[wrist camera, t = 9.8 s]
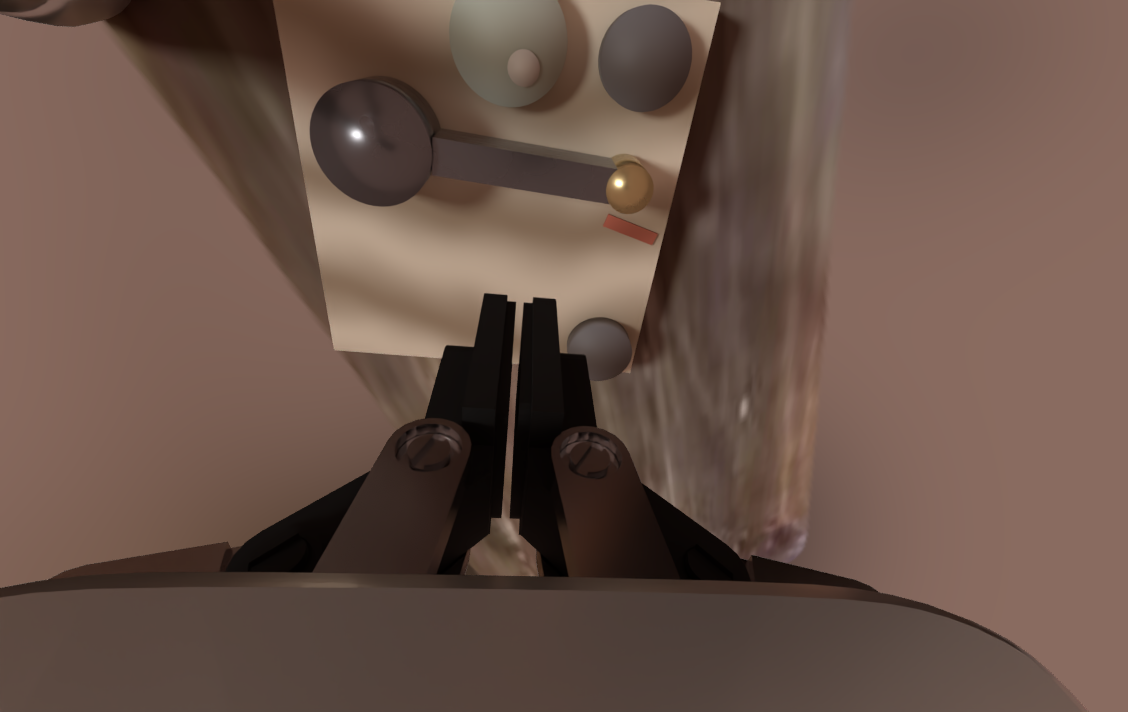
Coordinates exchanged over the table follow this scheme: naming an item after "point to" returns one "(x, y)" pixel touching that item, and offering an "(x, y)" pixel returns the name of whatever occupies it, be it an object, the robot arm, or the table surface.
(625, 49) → the plate
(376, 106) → the grey lever handle
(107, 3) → the plastic bottle
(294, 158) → the table surface
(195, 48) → the table surface
